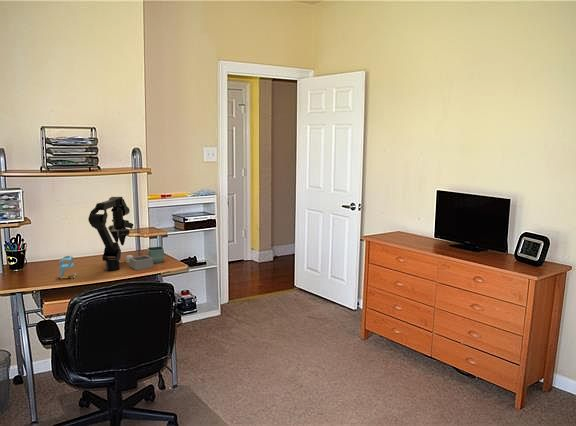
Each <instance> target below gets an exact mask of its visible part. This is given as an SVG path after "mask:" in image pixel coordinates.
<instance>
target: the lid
mask: <svg viewBox="0 0 576 426" xmlns="http://www.w3.org/2000/svg"><path fill="white" fill-rule="evenodd" d="M132 257H134V255H133V254H131V255H126V256H125V260H123V261H121V262H123V263H124V262H125V263H127V264H130V258H132Z"/></svg>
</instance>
